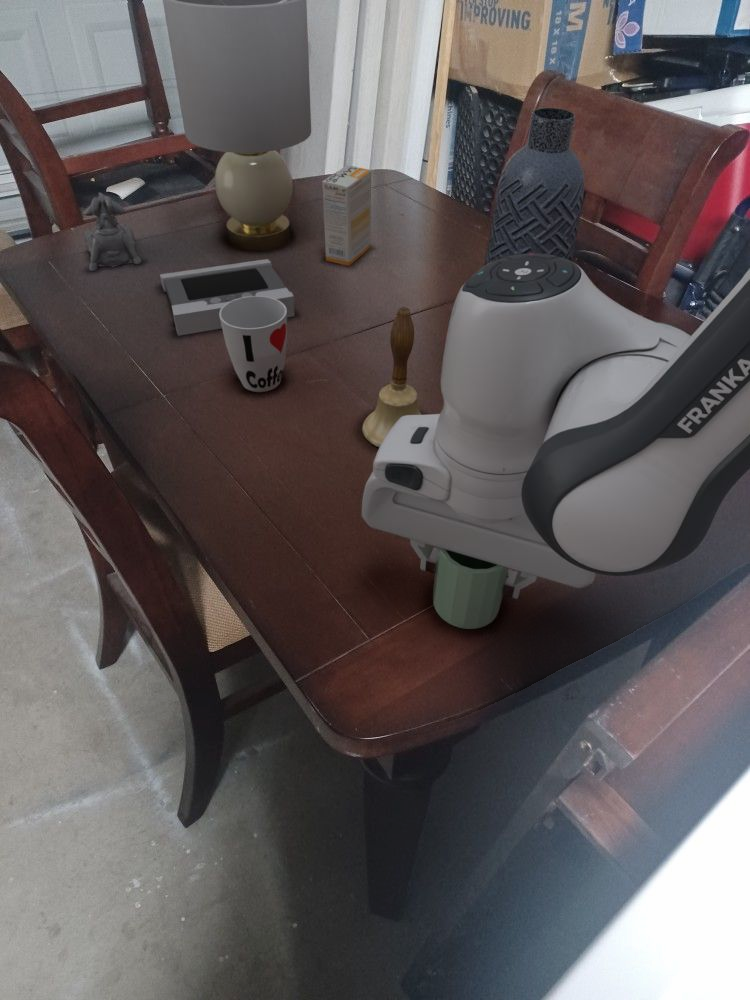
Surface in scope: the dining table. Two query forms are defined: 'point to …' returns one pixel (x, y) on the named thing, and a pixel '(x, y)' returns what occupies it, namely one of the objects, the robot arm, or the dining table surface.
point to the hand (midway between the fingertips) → (469, 578)
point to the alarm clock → (220, 292)
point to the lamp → (245, 103)
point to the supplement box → (347, 214)
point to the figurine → (109, 235)
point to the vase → (539, 192)
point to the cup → (256, 340)
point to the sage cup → (467, 589)
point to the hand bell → (394, 384)
